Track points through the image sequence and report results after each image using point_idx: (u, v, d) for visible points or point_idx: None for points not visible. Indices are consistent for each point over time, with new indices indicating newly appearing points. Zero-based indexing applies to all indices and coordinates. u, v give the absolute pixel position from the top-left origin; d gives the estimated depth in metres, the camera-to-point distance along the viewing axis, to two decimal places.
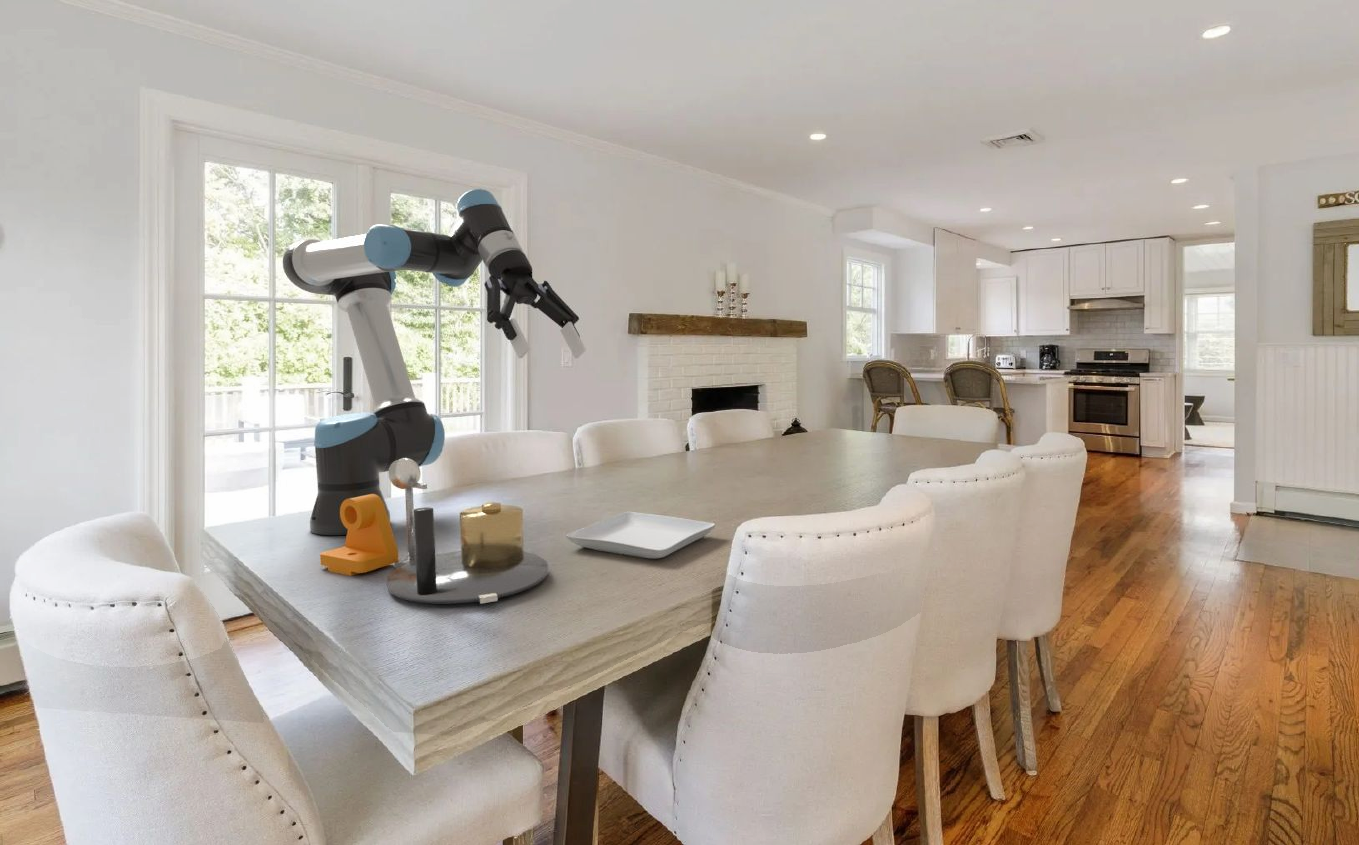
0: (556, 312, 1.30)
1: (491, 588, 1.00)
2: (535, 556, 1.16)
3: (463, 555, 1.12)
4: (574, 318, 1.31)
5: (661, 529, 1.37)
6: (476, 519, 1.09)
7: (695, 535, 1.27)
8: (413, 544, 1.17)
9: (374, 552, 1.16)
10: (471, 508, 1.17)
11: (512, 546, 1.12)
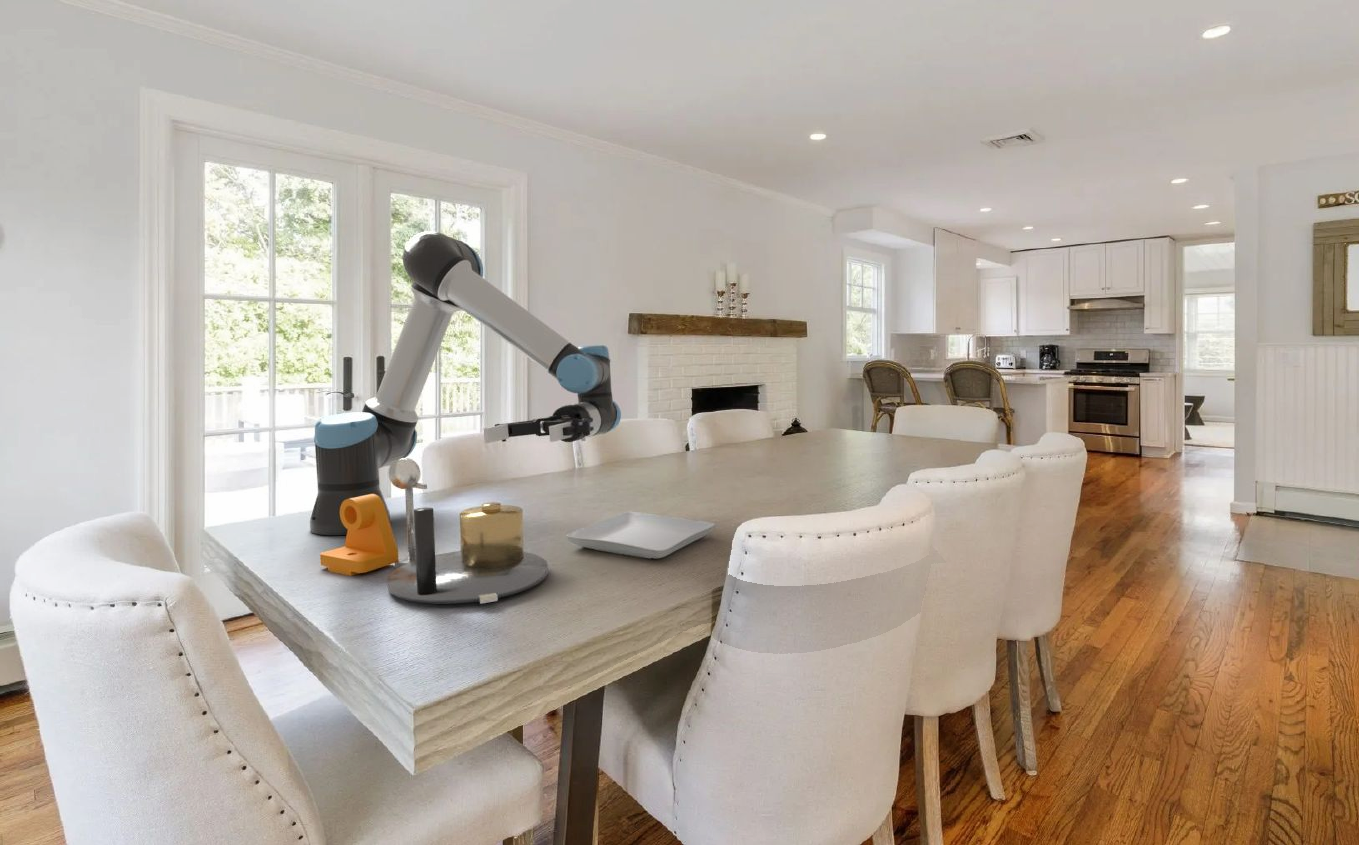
0: (520, 433, 1.34)
1: (491, 588, 1.00)
2: (535, 556, 1.16)
3: (463, 555, 1.12)
4: None
5: (661, 529, 1.37)
6: (476, 519, 1.09)
7: (695, 535, 1.27)
8: (413, 544, 1.17)
9: (374, 552, 1.16)
10: (471, 508, 1.17)
11: (511, 546, 1.12)
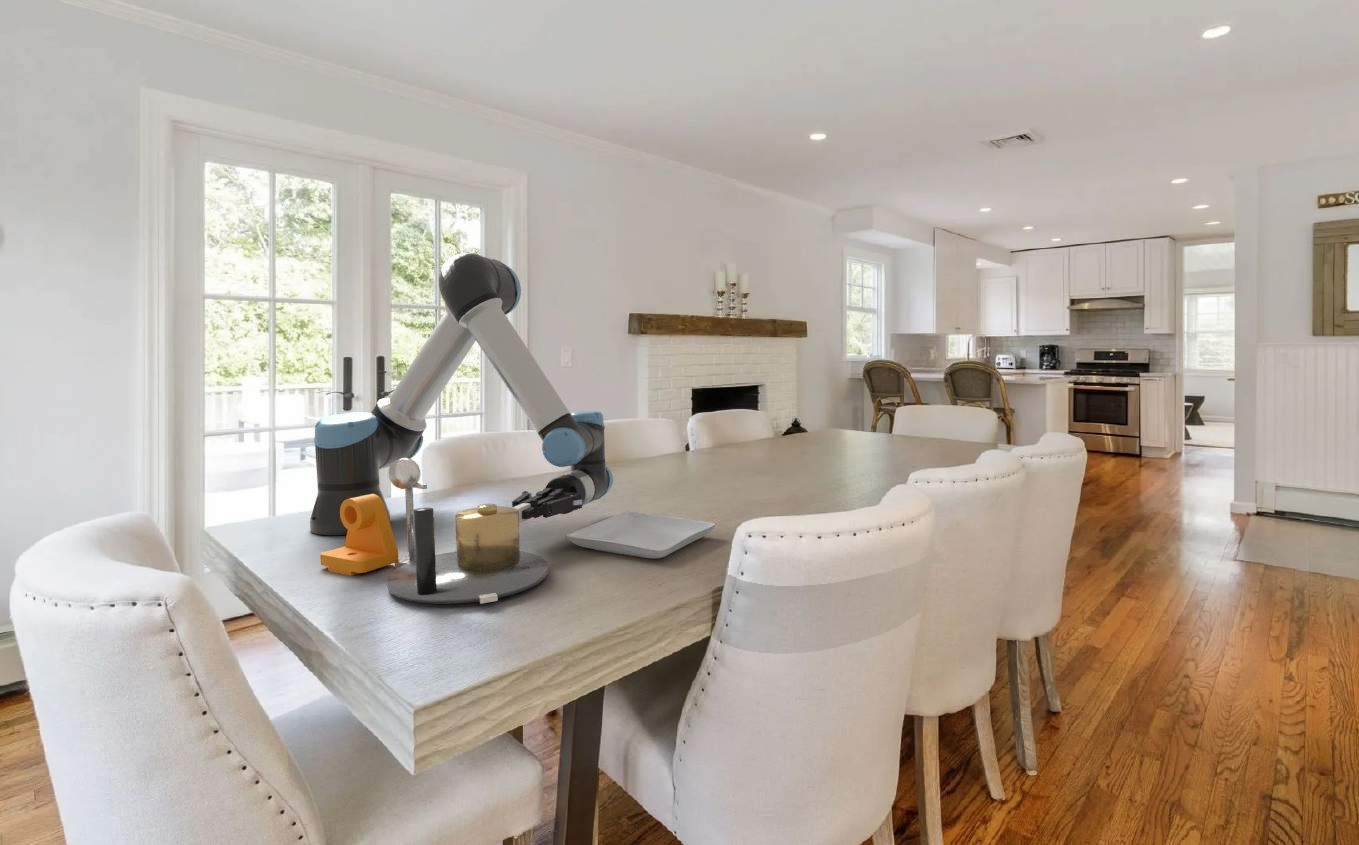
0: None
1: (491, 588, 1.00)
2: (535, 556, 1.16)
3: (458, 557, 1.11)
4: None
5: (661, 529, 1.37)
6: (472, 521, 1.08)
7: (695, 535, 1.27)
8: (413, 544, 1.17)
9: (374, 552, 1.16)
10: (467, 509, 1.15)
11: (508, 548, 1.11)
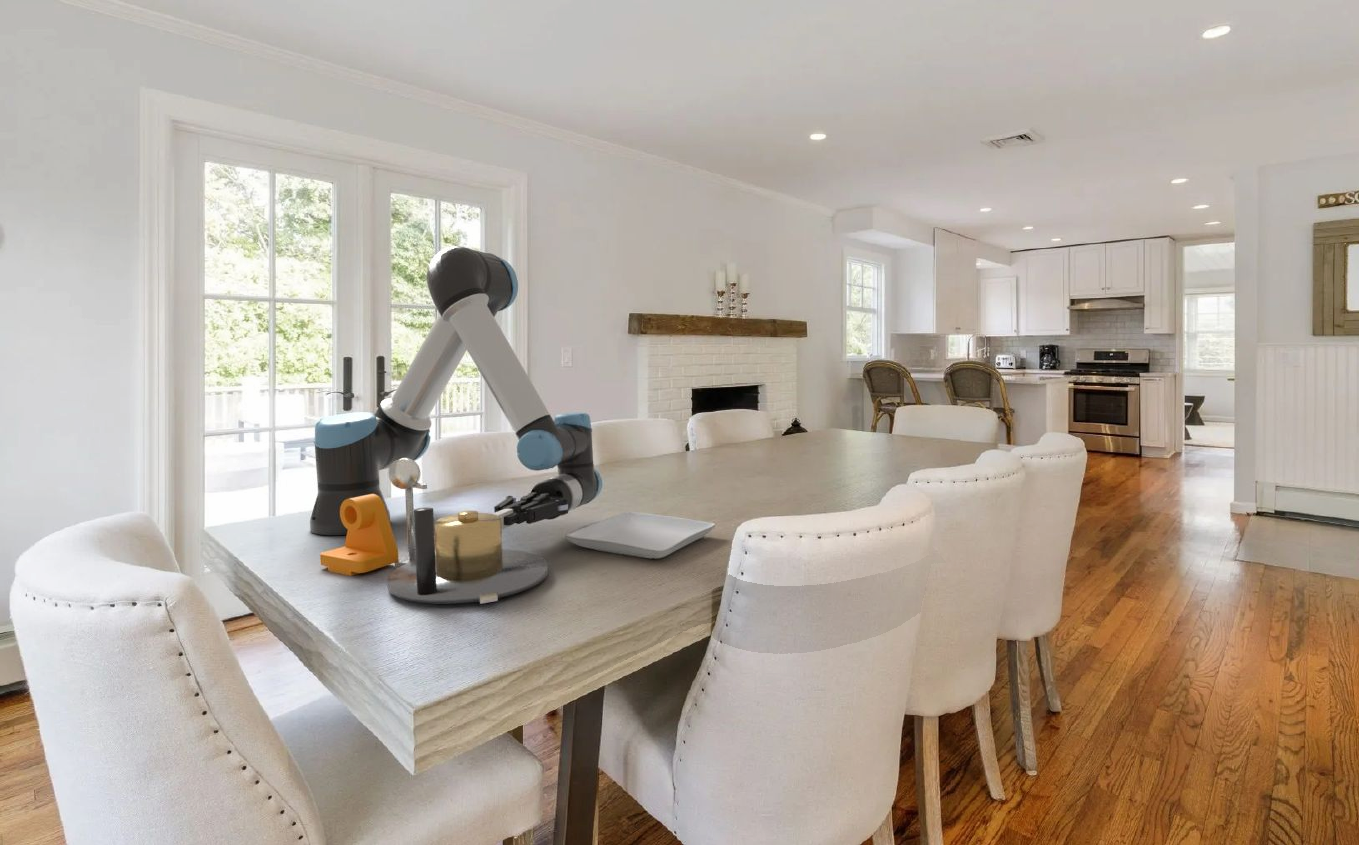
0: None
1: (491, 588, 1.00)
2: (535, 556, 1.16)
3: (438, 567, 1.06)
4: None
5: (661, 529, 1.37)
6: (451, 529, 1.03)
7: (695, 535, 1.27)
8: (413, 544, 1.17)
9: (374, 552, 1.16)
10: (446, 517, 1.10)
11: (490, 557, 1.06)
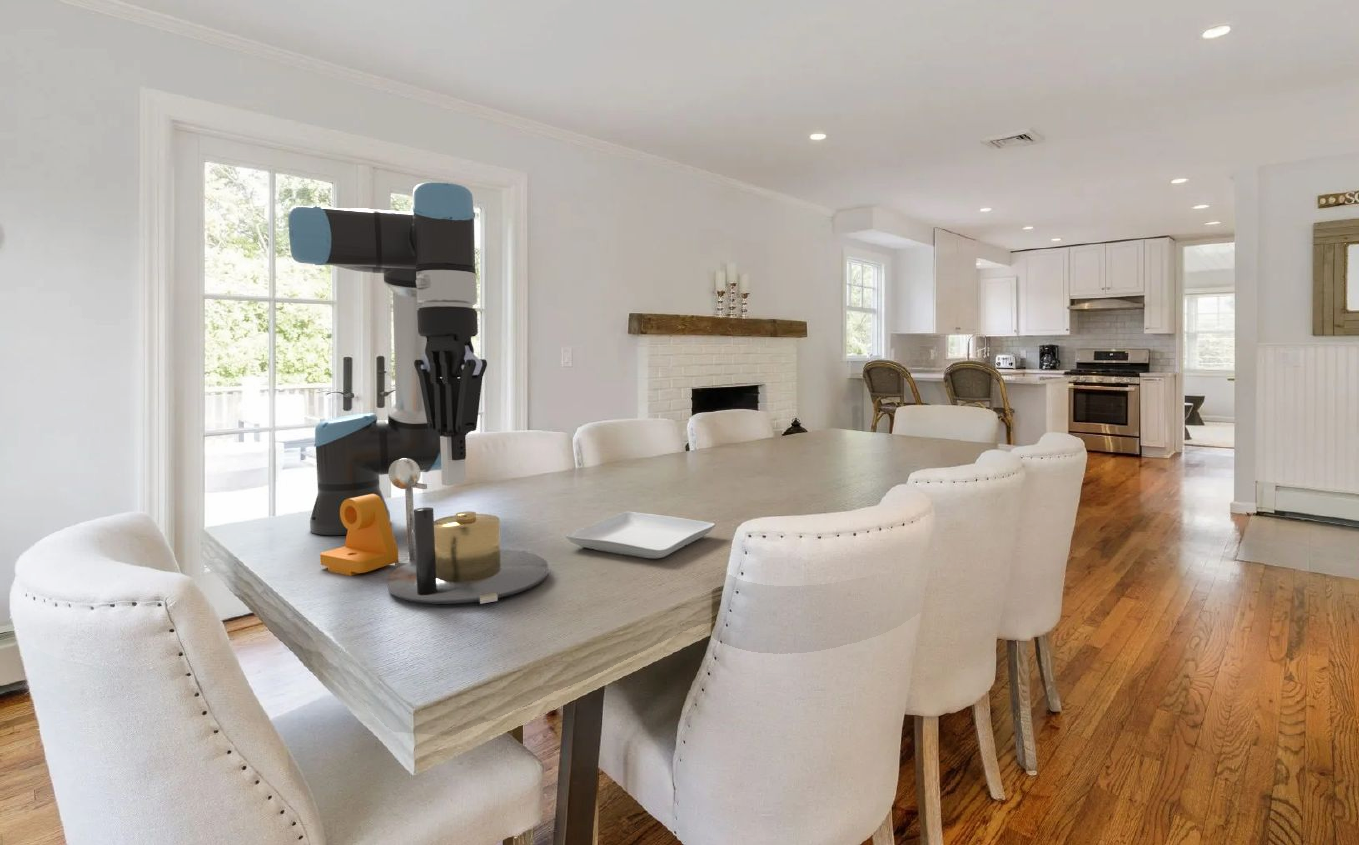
0: None
1: (491, 588, 1.00)
2: (535, 556, 1.16)
3: None
4: (444, 434, 0.90)
5: (661, 529, 1.37)
6: (449, 530, 1.03)
7: (695, 535, 1.27)
8: (413, 544, 1.17)
9: (374, 552, 1.16)
10: (444, 518, 1.10)
11: (487, 558, 1.05)
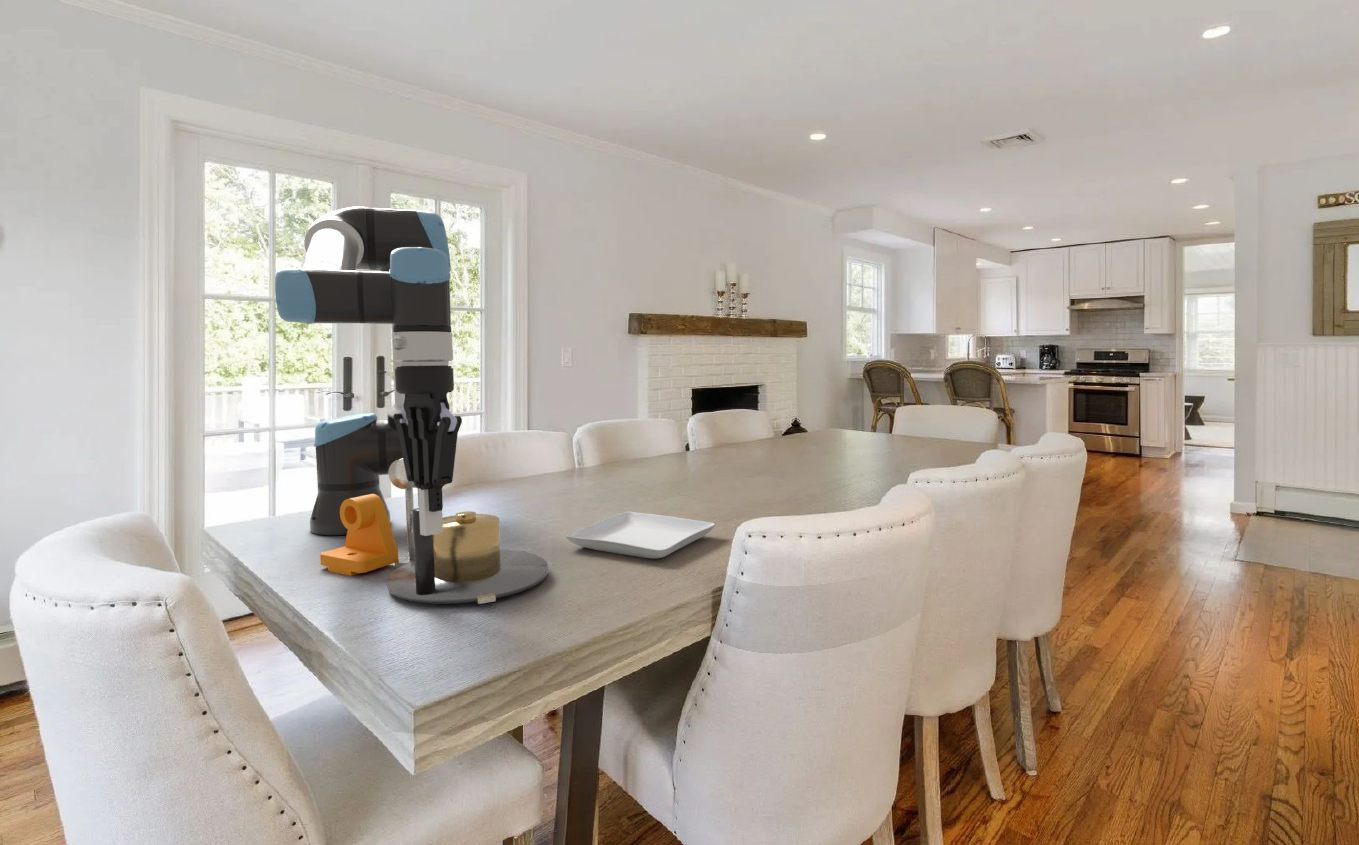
0: None
1: (490, 588, 1.00)
2: (536, 556, 1.16)
3: (435, 568, 1.05)
4: (421, 487, 0.94)
5: (661, 529, 1.37)
6: (448, 530, 1.03)
7: (695, 535, 1.27)
8: (413, 544, 1.17)
9: (374, 552, 1.16)
10: (445, 517, 1.10)
11: (487, 558, 1.05)
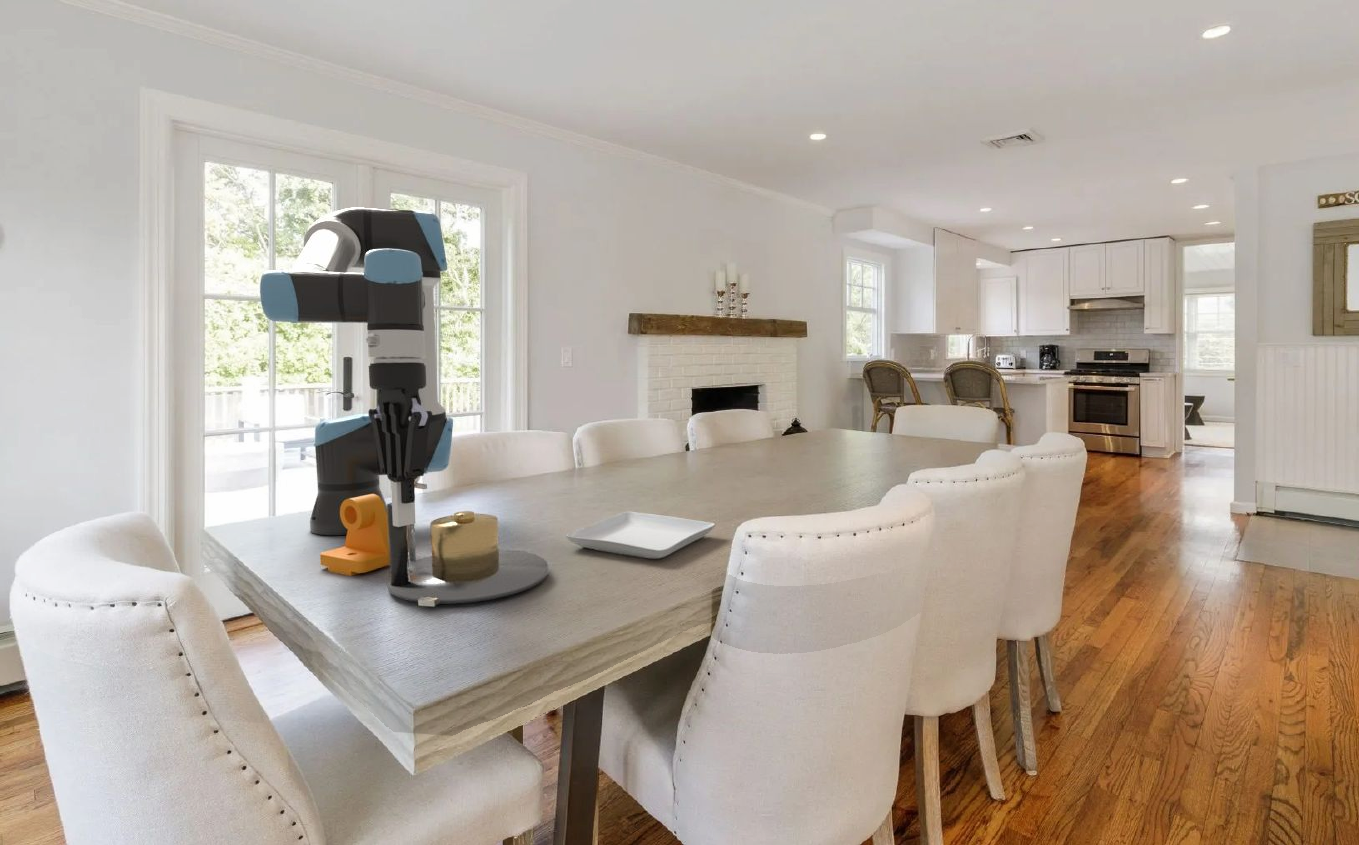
0: None
1: (444, 592, 0.98)
2: (543, 568, 1.09)
3: None
4: (393, 479, 0.98)
5: (661, 529, 1.37)
6: (433, 527, 1.04)
7: (695, 535, 1.27)
8: (413, 544, 1.17)
9: (374, 552, 1.16)
10: None
11: (465, 562, 1.03)
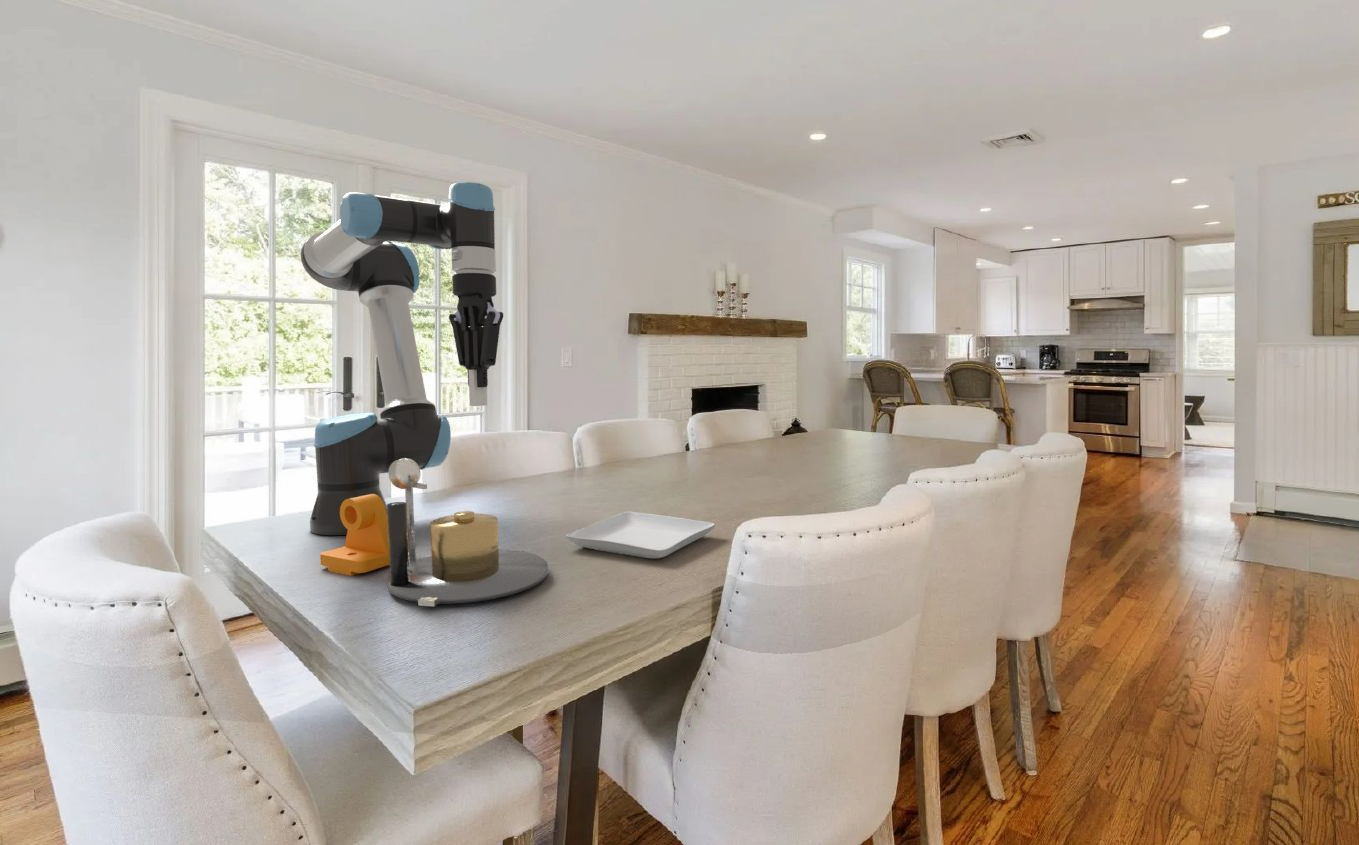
0: None
1: (444, 592, 0.98)
2: (543, 568, 1.09)
3: None
4: (472, 367, 1.23)
5: (660, 529, 1.37)
6: (432, 527, 1.04)
7: (695, 535, 1.27)
8: (413, 544, 1.17)
9: (374, 552, 1.16)
10: None
11: (465, 562, 1.03)
